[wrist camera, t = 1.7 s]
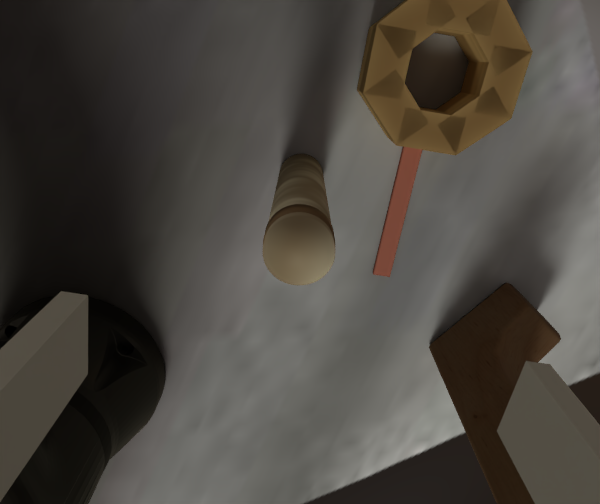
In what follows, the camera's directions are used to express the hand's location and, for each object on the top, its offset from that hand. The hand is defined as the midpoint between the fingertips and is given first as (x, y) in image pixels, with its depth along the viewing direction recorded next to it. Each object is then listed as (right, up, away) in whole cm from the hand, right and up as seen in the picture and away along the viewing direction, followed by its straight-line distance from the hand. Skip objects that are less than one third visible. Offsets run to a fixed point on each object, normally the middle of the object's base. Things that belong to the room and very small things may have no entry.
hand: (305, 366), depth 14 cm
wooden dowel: (0, +9, +23) cm, 25 cm away
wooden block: (+16, -3, +28) cm, 32 cm away
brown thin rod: (+8, +7, +24) cm, 26 cm away
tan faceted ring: (+9, +16, +20) cm, 27 cm away
